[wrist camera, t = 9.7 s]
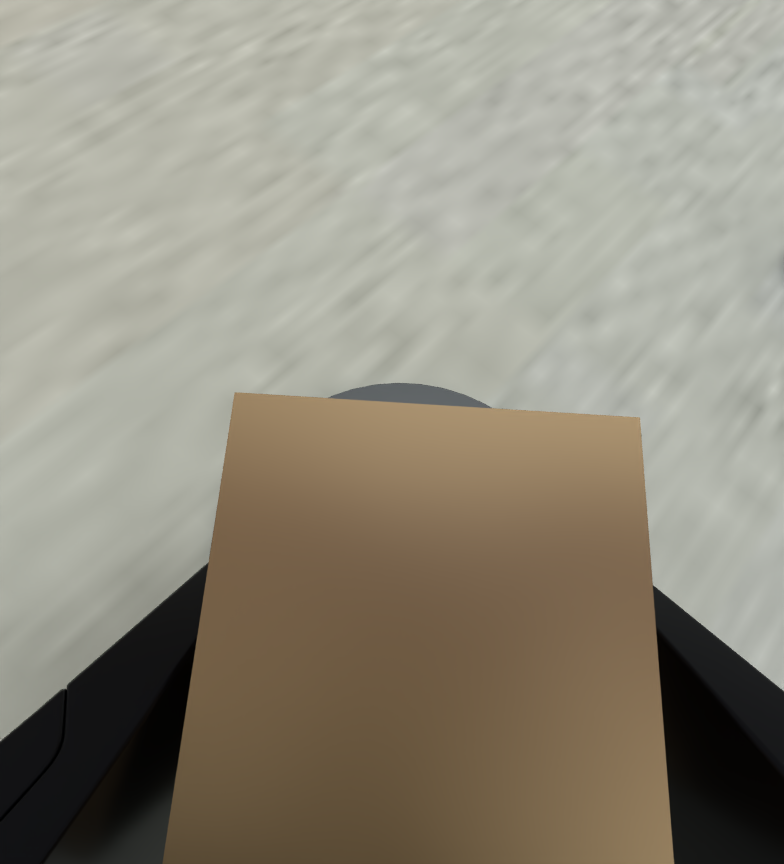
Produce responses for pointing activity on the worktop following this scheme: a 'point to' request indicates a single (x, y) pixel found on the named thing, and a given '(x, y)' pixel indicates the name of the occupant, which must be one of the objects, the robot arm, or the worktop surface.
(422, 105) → the worktop surface
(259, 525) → the tan wooden block
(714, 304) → the worktop surface
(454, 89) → the worktop surface
